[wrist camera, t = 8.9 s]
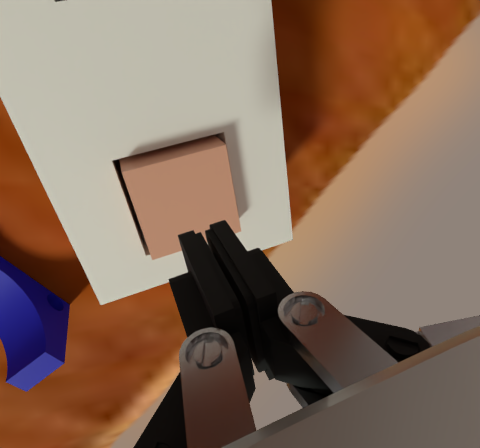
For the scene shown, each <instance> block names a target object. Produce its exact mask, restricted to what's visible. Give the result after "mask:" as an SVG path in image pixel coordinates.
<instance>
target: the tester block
mask: <svg viewBox="0 0 480 448" xmlns="http://www.w3.org/2000/svg"><path fill="white" fill-rule="evenodd" d="M0 97H1V99H2V101H3V103H4V105H5V107H6V109H7V112H8V114H9V116H10V118H11V120H12V122H13V124H14V126H15V128H16V130H17V132H18V134H19V136H20V138H21V141H22V143H23V145H24V147H25V149H26V151H27V153H28V155H29V157H30V159H31V161H32V163H33V165H34V167H35V170H36V172H37V174H38V176H39V178H40V180H41V182H42V184H43V186H44V188H45V190H46V192H47V194H48V197H49V199H50V201H51V203H52V205H53V207H54V209H55V211H56V213H57V215H58V217H59V219H60V221H61V223H62V226H63V228H64V230H65V232H66V234H67V236H68V238H69V240H70V242H71V244H72V246H73V248H74V250H75V253H76V255H77V257H78V259H79V261H80V263H81V265H82V267H83V269H84V271H85V273H86V275H87V277H88V279H89V282H90V284H91V286H92V288H93V290H94V292H95V294H96V296H97V298H98V300H99V302H100V304H101V305H103V304H106V303H109V302H112V301H114V300H117V299H120V298H123V297H126V296H129V295H132V294H135V293H138V292H141V291H144V290H147V289H150V288H153V287H156V286H158V285H161V284H164V283H167V282H169V280H168V279H170V278H173V277H176V276H179V275H181V274H184V273H187V272H188V270H187V266H186V263H185V259H184V256H183V253H182V251H179V252H176V253H173V254H170V255H167V256H164V257H161V258H158V259H155V260H152V258H151V255H150V252H149V249H148V246H147V244H146V241H145V238H144V235H143V232H142V229H141V226H140V223H139V221H138V218H137V215H136V212H135V209H134V206H133V203H132V201H131V198H130V195H129V192H128V189H127V186H126V183H125V180H124V178H123V175H122V171H121V166H120V162H119V159H121V158H124V157H128V156H132V155H136V154H140V153H144V152H148V151H152V150H156V149H159V148H163V147H167V146H171V145H175V144H179V143H183V142H187V141H191V140H194V139H198V138H202V137H206V136H210V135H215V136H217V137H218V138H219V139H220V140H221V141H222V142H223V143H225V144H226V148H227V153H228V159H229V165H230V170H231V176H232V182H233V187H234V193H235V198H236V204H237V210H238V215H239V221H240V227H241V232H238V233H235V234H236V236H237V237H238V239H239V240H240V242H241V243H242V244H243V246H244V247H245V249H246V250H247V251H250V250H252V249H255V248H260V249H261V250H264V249H267V248H270V247H273V246H276V245H279V244H282V243H285V242H288V241H290V240H293V237H292V225H291V214H290V203H289V192H288V181H287V170H286V158H285V147H284V136H283V125H282V114H281V103H280V92H279V80H278V69H277V58H276V47H275V36H274V25H273V13H272V2H271V0H0ZM207 244H208V243H207Z"/></svg>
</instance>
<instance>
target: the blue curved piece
mask: <svg viewBox="0 0 480 448" xmlns="http://www.w3.org/2000/svg"><path fill="white" fill-rule="evenodd" d="M69 307H70V305H69V304H68V303H66V302H65V301H64V300H62V299H61V298H59V297H58V296H56V295H55V294H54V293H52V292H51V291H49V290H48V289H46V288H45V287H44V286H42V285H41V284H39V283H38V282H36V281H35V280H34V279H32V278H31V277H29V276H28V275H26V274H25V273H24V272H22V271H21V270H19V269H18V268H16V267H15V266H14V265H12V264H11V263H9V262H8V261H6V260H5V259H4V258H2V257H1V256H0V338H1V340H2V343H3V345H4V348H5V352H6V356H7V366H8V370H7V379H6V382H7V383H9V384H12V385H14V386H16V387H18V388H20V389H22V390H24V391H26V392H27V391H28V390H29V389H31V388H32V387H33V386H35V385H36V384H37V383H39V382H40V381H41V380H43V379H44V378H45V377H47V376H48V375H49V374H51V373H52V372H53V371H55V370H56V369H57V368H59V367H60V366H61V365H63V364H64V361H65V351H66V340H67V329H68V318H69Z"/></svg>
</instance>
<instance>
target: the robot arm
mask: <svg viewBox="0 0 480 448" xmlns="http://www.w3.org/2000/svg"><path fill="white" fill-rule="evenodd" d="M205 234H206V239H207V242H206V241H205V239H204V237H203V235H202V233H201V232H199V233H196V234H195V232H194V230H192V231H189V232H185V233H182V234H179V235H178V238H179V242H180V246H181V249H182V253H183V256H184V259H185V263H186V266H187V270H188V272H187V273H184V274H181V275H179V276H176V277H173V278H170V279H168V280H169V283H170V286H171V289H172V292H173V295H174V298H175V301H176V304H177V307H178V310H179V313H180V316H181V319H182V322H183V325H184V328H185V331H186V334H187V337H188V338H187V339H186V340H185V341H184V342H183V344H182V346H181V349H180V353H179V362H180V373H179V375H178V376H177V378H176V379H175V381H174V383H173V384H172V386H171V388H170V389H169V391H168V392H167V394H166V396H165V397H164V399H163V401H162V402H161V404H160V406H159V407H158V409H157V410H156V412H155V414H154V415H153V417H152V419H151V420H150V422H149V423H148V425H147V427H146V428H145V430H144V432H143V433H142V435H141V436H140V438H139V440H138V441H137V443H136V445H135V446H134V448H480V315H479V316H474V317H470V318H464V319H460V320H455V321H449V322H444V323H439V324H434V325H430V326H424V327H420V328H419V331H418V332H414V331H412V330H409V329H406V328H402V327H398V326H392V325H388V324H384V323H379V322H374V321H369V320H365V319H360V318H356V317H351V316H346V315H343V314H342V313H341V312H339V311H338V310H337V309H336V308H335V307H334V306H332V305H331V304H330V303H329V302H328V301H327V300H326V299H324V298H323V297H321V296H320V295H318V294H315V293H312V292H303V291H302V292H295V293H294V292H293V291H292V290H291V288H290V287H289V286H288V284H287V283H286V282H285V280H284V279H283V278H282V276H281V275H280V274H279V273H278V271H277V270H276V269H275V267H274V266H273V265H272V264H271V262H270V261H269V259H268V258H267V257H266V256H265V254H264V253H263V252H262V250H261V249H260V248H255V249H252V250H250V251H247V250H246V249H245V247H244V246H243V244H242V243H241V242H240V240H239V239H238V237H237V236H236V234H235V233H234V232H233V230H232V229H231V227H230V226H229V224H228V223H227V222H226V220H222V221H219V222H216V223H213V224H210V229H208V230H205ZM207 243H208V244H207ZM251 358H252V359H251ZM252 360H253V362H254V364H255V366H256V368H257V370H258V372H262V371H265V372H266V374H267V376H268V378H269V380H271V379H273V378H275V379H276V380H279V381H282V382H285V383H286V384H287V387H288V388H289V390H290V392H291V393H292V395H293V396H294V397H295V398H296V400H297V401H298V402H299V404H300V405H301V406H302V409H300V410H298V411H296V412H294V413H292V414H290V415H288V416H286V417H284V418H282V419H280V420H277V421H275V422H273V423H271V424H269V425H267V426H265V427H263V428H261V429H259V430H257V431H256V427H255V424H254V419H253V415H252V412H251V408H250V404H249V403H250V401H251V398H252V396H253V393H254V391H255V383H254V379H253V375H254V370H253V364H252Z"/></svg>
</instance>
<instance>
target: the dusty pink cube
mask: <svg viewBox="0 0 480 448" xmlns="http://www.w3.org/2000/svg"><path fill="white" fill-rule="evenodd" d="M119 161H120V166H121V171H122V175H123V178H124V180H125V183H126V186H127V189H128V192H129V195H130V198H131V201H132V203H133V206H134V209H135V212H136V215H137V218H138V221H139V223H140V226H141V229H142V232H143V235H144V238H145V241H146V244H147V246H148V249H149V252H150V255H151V258H152V260H155V259H158V258H161V257H164V256H167V255H170V254H173V253H176V252H179V251H182V249H181V246H180V242H179V238H178V235H179V234H182V233H185V232H189V231H192V230H194V232H195V234H196V233H199V232H201V233H202V235H203V237H204V239H205V241H206V242H207V239H206V234H205V230H208V229H210V224H213V223H216V222H219V221H222V220H226V222H227V223H228V224H229V226H230V227H231V229H232V230H233V232H234V233H238V232H241V227H240V221H239V215H238V210H237V204H236V198H235V193H234V187H233V182H232V176H231V170H230V165H229V159H228V153H227V148H226V144H225V143H223V142H222V141H221V140H220V139H219V138H218V137H217V136H215V135H210V136H206V137H202V138H198V139H194V140H191V141H187V142H183V143H179V144H175V145H171V146H167V147H163V148H159V149H156V150H152V151H148V152H144V153H140V154H136V155H132V156H128V157H124V158H121V159H119Z"/></svg>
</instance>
